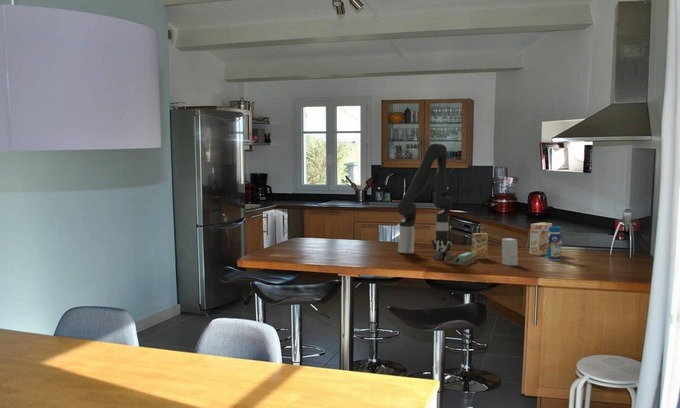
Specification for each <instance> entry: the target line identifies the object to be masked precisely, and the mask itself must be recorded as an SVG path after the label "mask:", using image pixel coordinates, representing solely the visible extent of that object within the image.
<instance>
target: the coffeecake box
mask: <svg viewBox="0 0 680 408" xmlns="http://www.w3.org/2000/svg"><path fill="white" fill-rule="evenodd" d="M550 226H553V223H551V222H543V221H541V222H536V223H530V232H529V233H530V234H529V236H530V237H529V255H534V256H539V257H540V256H543V255H547V240H548V239H547V237H548V235H549V233H550V232H549V227H550Z"/></svg>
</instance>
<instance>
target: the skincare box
mask: <svg viewBox="0 0 680 408" xmlns="http://www.w3.org/2000/svg"><path fill="white" fill-rule="evenodd" d="M518 255H519V253H518V239H516V238H511V237H510V238H509V237H508V238H506V237H505V238H502V239H501V258H502V259H501V264H503V265H507V266H518V261H519V260H518V259H519V258H518Z"/></svg>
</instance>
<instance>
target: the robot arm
mask: <svg viewBox="0 0 680 408" xmlns="http://www.w3.org/2000/svg"><path fill="white" fill-rule="evenodd" d="M447 155H448V151H447V147H446V145H445V144H442V143H437V142H436V143H435V142H433V143H431V144H429V145H428V147H427V149H426V150H425V154H424V156H423V159H422V161H421V163H420V165H419V167H418V169H417V171H416V172H415V174H414V176H413V179H412V180H411V183H410V184H409V187H408V189H407V190H406V192H405V193H404V195H403V197H402V199H401V200H400V201H399V202H398V204H397V213H398V214H399V215H400V216H403V218H401V220H400V221H399V236H398V237H397V241H398V242H397V244H398V245H397V253H401V254H414V252H415V251H414V250H415V223H416V216H417V206H416V203H415V202H414V201H415V199H416V198H417V197H418V196H419V195H420V194H421V193H423V191H424V190H425V189H426V187H427V185H428V184H429V181H430V179H431V168H432V165H433V163H434V161H435V160H436V161H437V169H436V172H435V175H434V187H435V192H434V197H433V199H434V200H433V205H434V206H435V208H436V209H442V210H441V211H438V212H436V221H435V222H436V223H435V239H433V240H431V244H432V247H433V250H434V251H435V252H438V251H440V250H441V248H442V250H443V259H444V257H446V255H447V251H449V252H450V251H451V248H452V245H453V242H452V241H449V228H450V227H449V214H450V211H451V208H452V205H453V204H452V203H453V202H452V198H451V197H450V196H443V195H442V194H443V193H447V192H448V184H447V183H448V182H447V158H448V157H447Z"/></svg>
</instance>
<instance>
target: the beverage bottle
mask: <svg viewBox="0 0 680 408" xmlns="http://www.w3.org/2000/svg"><path fill="white" fill-rule="evenodd" d="M561 229H562V227H561V226H558V225H557V226H555V225H552V226H550V227H549V232H550V233H549V235H548V237H547V239H548V240H547V254H546V260H548V261H553V262H554V261H556V262H557V261H561V260H562V244H563V242H562V239H563V238H562V235H561Z"/></svg>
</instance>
